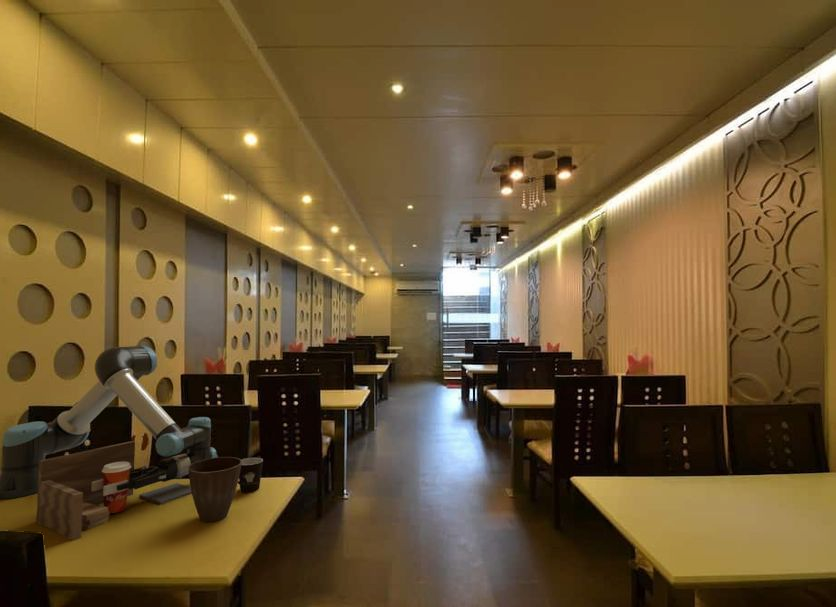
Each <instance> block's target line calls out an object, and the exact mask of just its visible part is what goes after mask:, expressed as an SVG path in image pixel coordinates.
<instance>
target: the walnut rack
mask: <svg viewBox="0 0 836 607" xmlns="http://www.w3.org/2000/svg"><path fill="white" fill-rule="evenodd" d="M135 452H136V442H135V441H133V440H131V441H127V442H123V443H117V444H116V443H115V444H112V445H111V444H110V445H108V446H103V447H98V448H93V449H88V450H84V451H79V452H74V453H69V454H64V455H59V456H56V457H49V458H47V459H46V458H45V460H40V461H39V480H38V492H37V498H36V499H37V500H36V501H37V502H36V523H38V524H40V525H42V526H44V527H46V528H48V529H50V530H51V531H53V532H56V533H57V534H59V535H61V534H62V535H61V536H62V537H64V538H67V539H69V540H70V541H74V539H75V540H77V539H81V538H82V529H81V528H82V506H83V502H85V503H90V504H95V505H103V504H104V498H103V489H100V490H96V491H91V489H92V482H94V481H98V480H102V479H103V472H102V470H103V468H104V466H105V465H107V464H110V463H114V462H129V463H130V465H131V468H130V470H133V469H135V458H136V457H135V455H136V453H135ZM131 495H134V488H132V489H129V488H128V493H127V497H128V496H131Z"/></svg>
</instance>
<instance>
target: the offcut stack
mask: <svg viewBox="0 0 836 607" xmlns="http://www.w3.org/2000/svg"><path fill="white" fill-rule="evenodd" d="M109 517H110V514H109V511H108V507H105V506H104V505H101V504H99V505H95V504H90V503H85V502H83V506H82V528H81V530H83V531H84V530H85V531H89V530H92V529H93V528H96V527H98V526H100V524H101V525H103V524H104V522H105V523H107V522H106V521H108V522H109ZM102 523H103V524H102Z"/></svg>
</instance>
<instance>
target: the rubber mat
mask: <svg viewBox="0 0 836 607" xmlns="http://www.w3.org/2000/svg"><path fill="white" fill-rule="evenodd" d="M190 495H192V491H191V486H190V485H185V484H181V483H179V482H176V483H173V484H169V485H166V486H163V487H160V488H156V489H153V490H150V491H147V492H145V493H140V494H139V495H138V497H139V498H141V497H142V498H141V499H143V498H145V499H144V500H146V499H147V501H149V500H150V501H149V502H152V501H153V503H155V504H158V505H163V504H166V503H169V502H173V501H175V500H177V499H180V498H184V497H185V496H186V497H187V496H190Z"/></svg>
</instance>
